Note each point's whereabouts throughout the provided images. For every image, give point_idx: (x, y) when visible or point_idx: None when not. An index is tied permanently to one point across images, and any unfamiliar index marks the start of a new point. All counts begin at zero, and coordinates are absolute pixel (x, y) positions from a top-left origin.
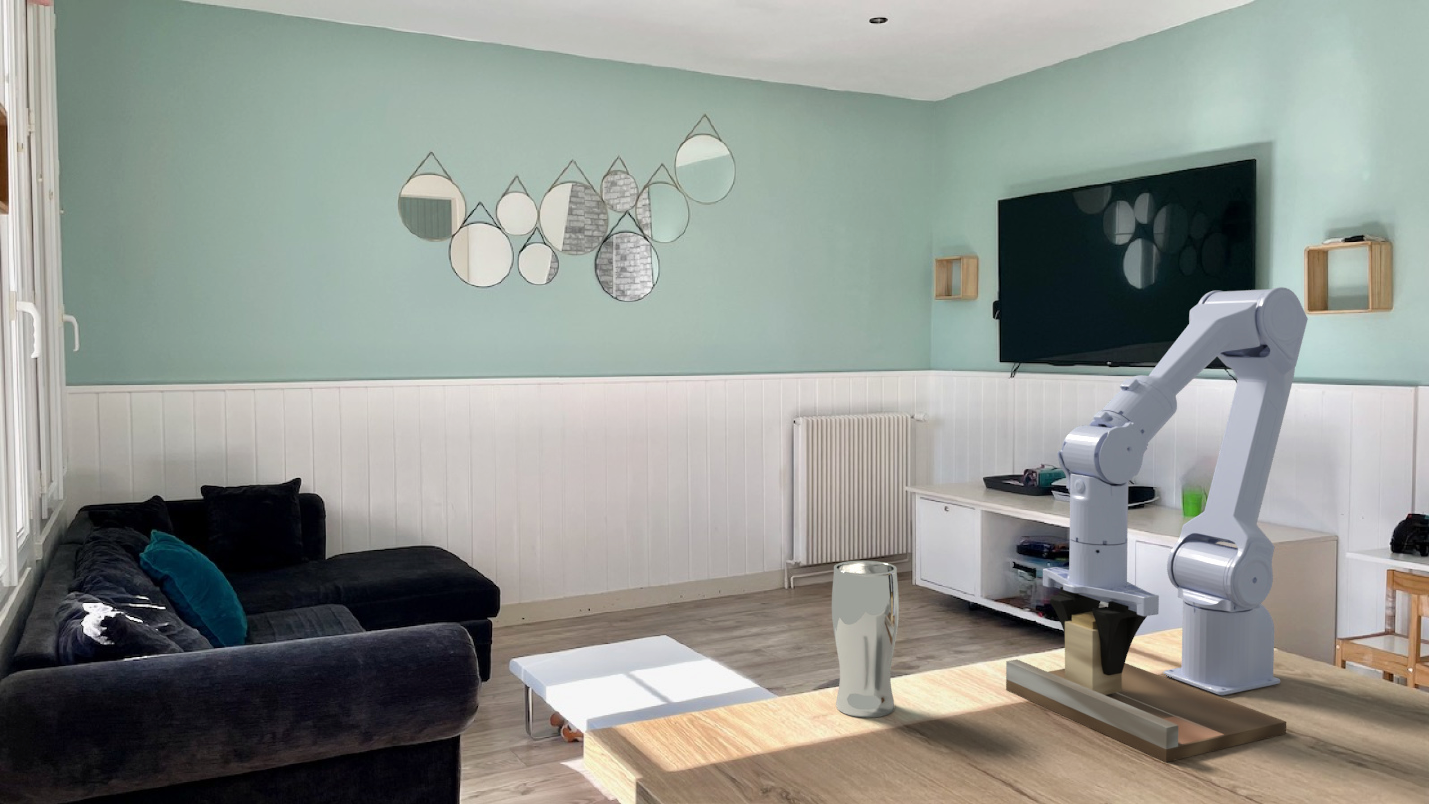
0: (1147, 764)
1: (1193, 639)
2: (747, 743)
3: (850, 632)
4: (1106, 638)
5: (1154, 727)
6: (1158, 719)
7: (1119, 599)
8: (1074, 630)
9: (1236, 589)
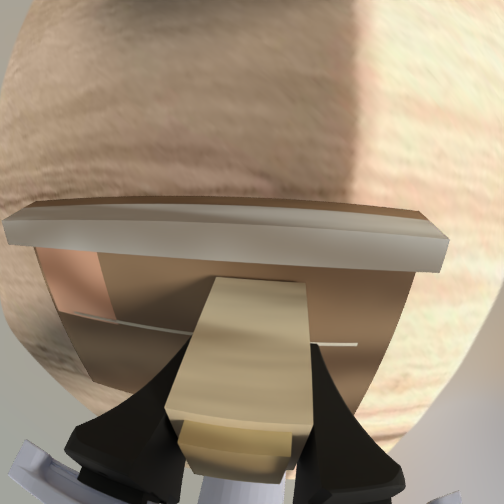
0: (35, 173)
1: None
2: None
3: None
4: (140, 397)
5: (18, 217)
6: (21, 237)
7: (60, 492)
8: (260, 404)
9: None
